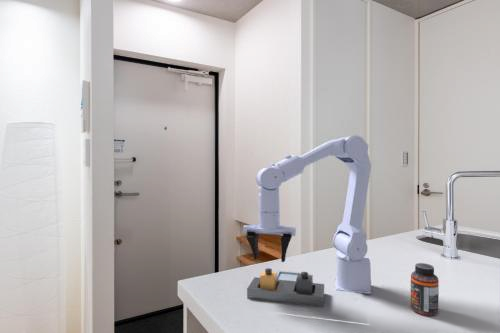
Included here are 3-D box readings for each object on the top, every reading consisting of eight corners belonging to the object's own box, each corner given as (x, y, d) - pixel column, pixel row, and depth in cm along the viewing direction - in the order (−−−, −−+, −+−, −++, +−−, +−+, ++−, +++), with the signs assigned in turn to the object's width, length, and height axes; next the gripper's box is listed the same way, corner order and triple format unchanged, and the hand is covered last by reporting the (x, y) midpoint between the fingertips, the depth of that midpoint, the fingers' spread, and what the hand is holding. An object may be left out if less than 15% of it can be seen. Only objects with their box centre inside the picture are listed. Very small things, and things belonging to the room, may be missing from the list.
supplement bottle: (405, 305, 77) (405, 261, 76) (427, 304, 77) (427, 260, 77) (420, 318, 71) (420, 270, 70) (444, 316, 71) (444, 269, 71)
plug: (277, 292, 85) (276, 267, 85) (274, 299, 81) (274, 272, 81) (263, 291, 86) (263, 266, 86) (260, 297, 82) (259, 271, 82)
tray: (310, 276, 96) (310, 273, 96) (307, 290, 86) (307, 286, 86) (277, 273, 99) (277, 270, 99) (271, 286, 89) (271, 283, 89)
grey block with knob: (312, 296, 82) (312, 270, 82) (311, 303, 78) (311, 276, 78) (298, 295, 83) (297, 269, 83) (296, 302, 79) (296, 275, 79)
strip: (324, 294, 83) (324, 284, 83) (323, 308, 75) (323, 296, 75) (254, 287, 88) (254, 277, 88) (247, 299, 81) (247, 288, 81)
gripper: (297, 209, 85) (297, 257, 85) (247, 208, 89) (248, 253, 89) (293, 214, 78) (294, 265, 78) (240, 212, 82) (241, 261, 82)
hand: (269, 259), depth 83 cm, fingers open, 7 cm apart
